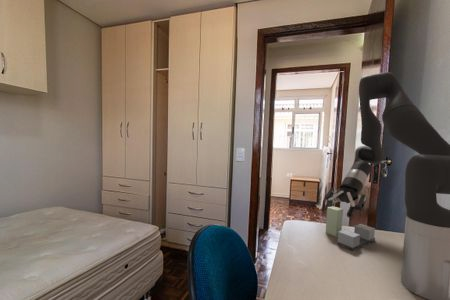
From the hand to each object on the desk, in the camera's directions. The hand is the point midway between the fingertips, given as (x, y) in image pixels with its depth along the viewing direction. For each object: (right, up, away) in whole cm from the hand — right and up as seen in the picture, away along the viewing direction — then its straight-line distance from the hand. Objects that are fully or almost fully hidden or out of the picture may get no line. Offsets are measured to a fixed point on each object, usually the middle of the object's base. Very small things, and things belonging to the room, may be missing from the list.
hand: (337, 212), depth 86 cm
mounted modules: (+3, -8, -8) cm, 12 cm away
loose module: (-2, -8, -1) cm, 8 cm away
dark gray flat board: (+3, -8, -8) cm, 12 cm away
